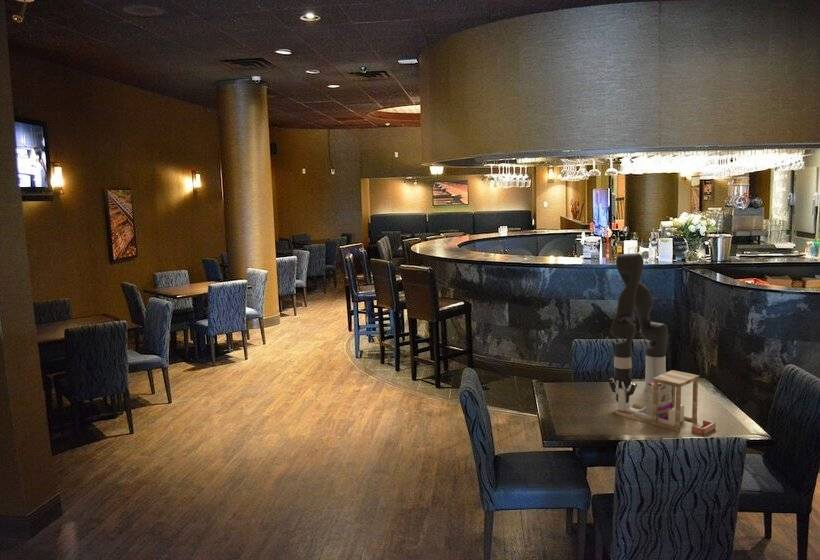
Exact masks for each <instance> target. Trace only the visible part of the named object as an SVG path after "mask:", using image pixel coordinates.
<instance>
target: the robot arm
mask: <svg viewBox="0 0 820 560" xmlns="http://www.w3.org/2000/svg"><path fill="white" fill-rule="evenodd" d="M615 266H616V269H617V271H618V274H619V276H620V278H621V279H622V281H623V283H624V285H625V287H624V288H623V290H622V291H621V293H620V295H619V297H618V300H617V308H616V314H615V316H614V319H613V321H612V324H611V325H610V330H609V331H610V334H611V336H612V337H614V338H621V339H622V338H623V339H626V340H625V341H619V342H616V343H614V359H613V377H611V378H609V379H608V384H609V386H610V388H611V389H610V390H611V391H612V393H615V400H616V402H617V403H618V388H623V389H625V391H626V395H625V396H626V403H628V402H629V396H632V395H634V393H635V392H636V389H637V386H638V384H637V383H634V382H633V380H632V369H633V368H632V367H633V366H632V346H633V345H632V344H633V341H634V337H635V335H636V333H637V332H636V330H637V328H636V327H637V326H636V325H635V324H634V323H633V322H631V321H630V322H628V321H623V320H626V319H630V318H631V319H632V318H633V316H634V311H635V313H636V316H637V319H638V322H639V326H640V330H641V333H642V337H643V338H644V340H646V341H650V342H655V345H654V346H650V347H647V348H646V349H645V372H644V373H645V378H644V380H645V381H644V389H645V390H646V383H649V382H652V380H653V378H654V377H656V376H659V375H661V374H664V373H666V372H667V368H666V363H667V362H666V358H667V357H666V356H667V355H666V354H667V349H668V338H669V329H668V325H666V324H665V323H661V322H655V321H653V320H651V317H650V313H651V311H652V309H653V305H654V300H653V297H652V295H651V292H650V289H649V288H648V287H647V286H646V285H645V284H643V283H642V282H641V277H642V274H643V269H644V257H643V255H642V254H641V253H636V252H635V253H634V252H633V253H622V254H619V255H617V257H616V259H615ZM626 388H628V389H626ZM629 388H630V390H629ZM627 391H628V393H627Z"/></svg>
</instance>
